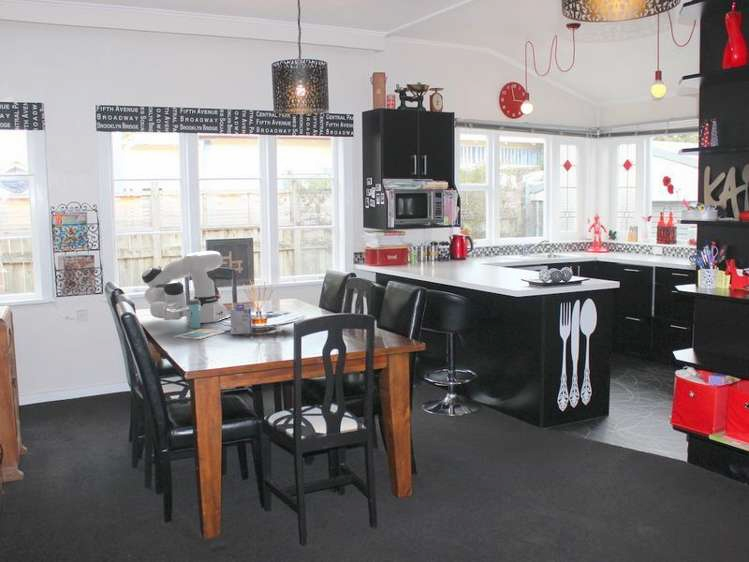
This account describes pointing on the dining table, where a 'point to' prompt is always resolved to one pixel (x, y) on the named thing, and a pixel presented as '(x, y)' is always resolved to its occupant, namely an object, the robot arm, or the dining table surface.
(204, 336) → the picture board
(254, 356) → the dining table surface
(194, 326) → the teal canister
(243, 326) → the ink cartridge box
